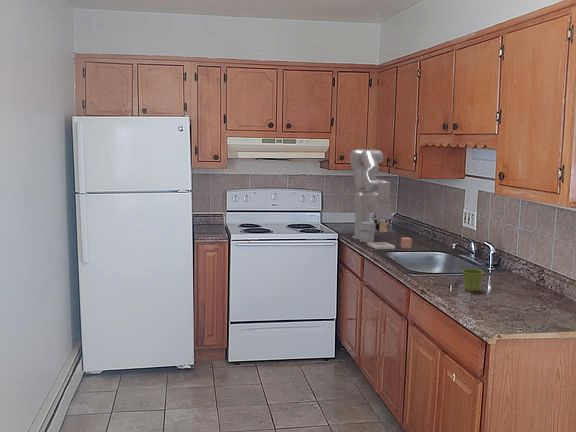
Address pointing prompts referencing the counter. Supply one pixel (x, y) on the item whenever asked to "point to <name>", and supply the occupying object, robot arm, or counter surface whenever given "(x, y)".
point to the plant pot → (472, 279)
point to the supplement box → (367, 232)
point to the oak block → (383, 226)
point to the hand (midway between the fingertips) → (382, 229)
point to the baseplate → (381, 245)
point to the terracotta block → (406, 242)
